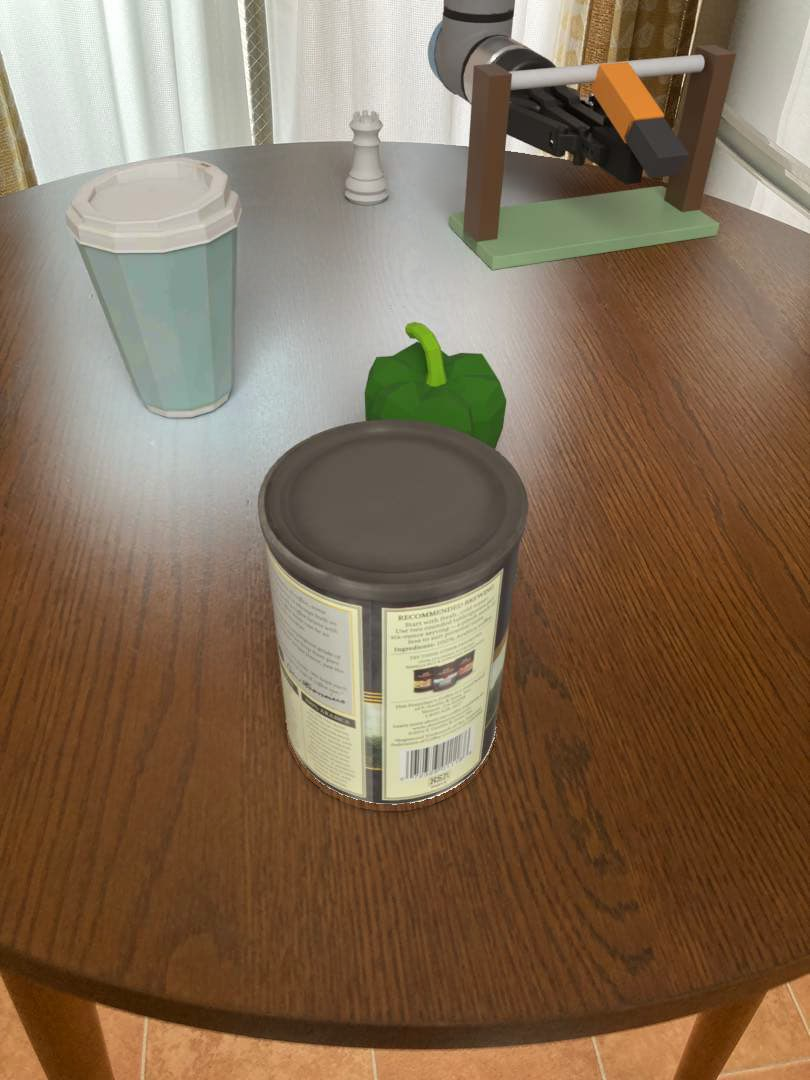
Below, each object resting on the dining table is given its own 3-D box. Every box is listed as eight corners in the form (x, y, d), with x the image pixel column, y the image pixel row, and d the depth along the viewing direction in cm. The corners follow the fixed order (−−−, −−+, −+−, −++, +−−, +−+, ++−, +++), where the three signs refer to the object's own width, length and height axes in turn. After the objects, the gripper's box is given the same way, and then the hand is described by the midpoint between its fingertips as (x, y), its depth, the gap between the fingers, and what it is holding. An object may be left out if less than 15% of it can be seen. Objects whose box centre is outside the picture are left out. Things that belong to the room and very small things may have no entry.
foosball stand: (660, 197, 95) (693, 35, 85) (717, 235, 88) (760, 64, 78) (448, 226, 88) (457, 54, 78) (492, 270, 81) (508, 88, 71)
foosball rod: (759, 166, 77) (690, 71, 83) (773, 141, 75) (701, 45, 80) (560, 192, 72) (500, 89, 77) (569, 166, 70) (507, 62, 75)
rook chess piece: (370, 186, 95) (370, 104, 90) (397, 199, 93) (399, 116, 87) (335, 196, 93) (333, 112, 88) (362, 210, 91) (361, 125, 85)
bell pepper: (512, 512, 56) (530, 370, 50) (379, 528, 55) (380, 384, 48) (477, 434, 62) (488, 298, 56) (357, 447, 61) (354, 309, 54)
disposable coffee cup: (166, 456, 60) (123, 233, 50) (77, 392, 65) (22, 179, 55) (290, 394, 66) (274, 183, 56) (198, 339, 71) (169, 139, 61)
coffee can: (378, 612, 50) (378, 389, 40) (538, 711, 45) (580, 484, 36) (237, 730, 44) (199, 501, 34) (404, 859, 39) (413, 633, 30)
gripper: (565, 119, 98) (691, 202, 82) (453, 131, 95) (561, 220, 78) (575, 42, 93) (711, 113, 77) (457, 51, 90) (574, 128, 73)
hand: (636, 167), depth 78 cm, fingers closed
